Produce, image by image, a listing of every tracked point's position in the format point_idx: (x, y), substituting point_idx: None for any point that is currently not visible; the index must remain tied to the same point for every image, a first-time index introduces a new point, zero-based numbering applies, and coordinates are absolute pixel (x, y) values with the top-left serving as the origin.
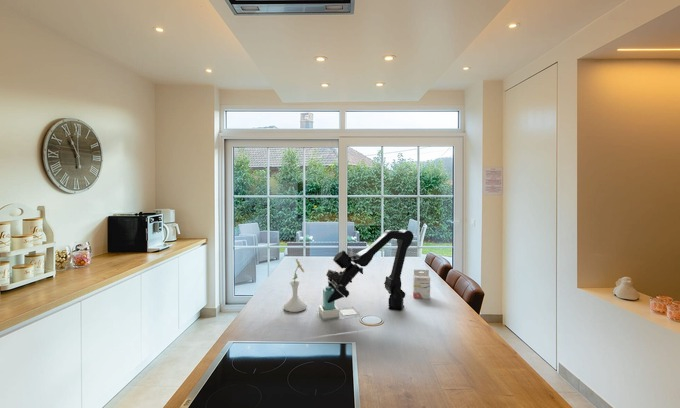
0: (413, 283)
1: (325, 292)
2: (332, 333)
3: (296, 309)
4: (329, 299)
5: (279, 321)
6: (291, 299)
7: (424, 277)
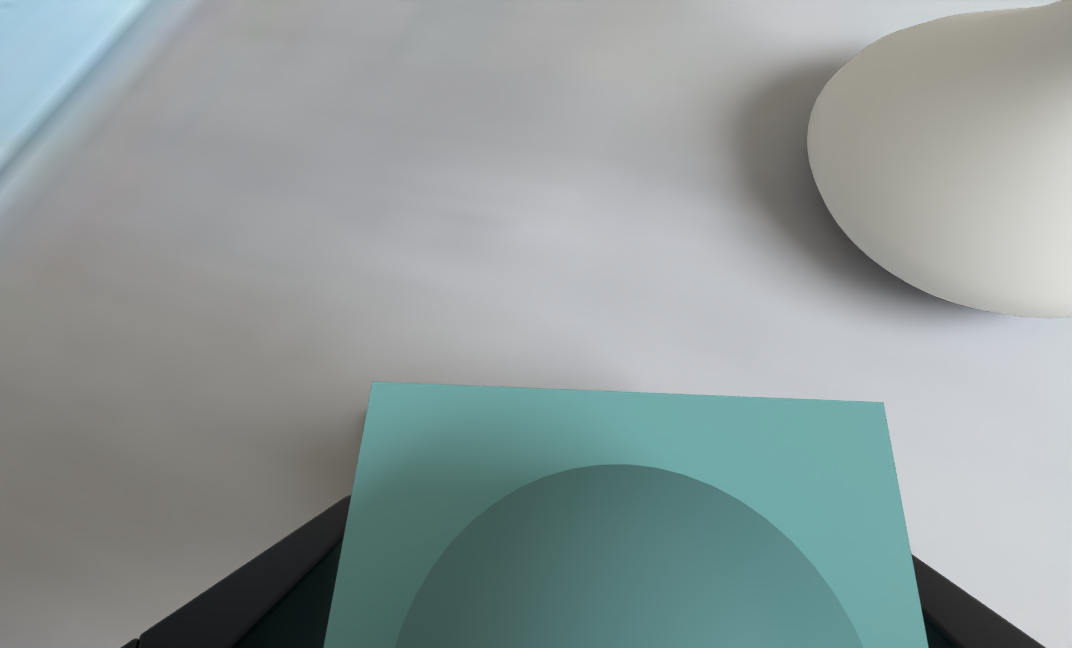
0: None
1: (387, 410)
2: (10, 451)
3: (818, 138)
4: (272, 550)
5: (615, 14)
6: (1045, 6)
7: None
